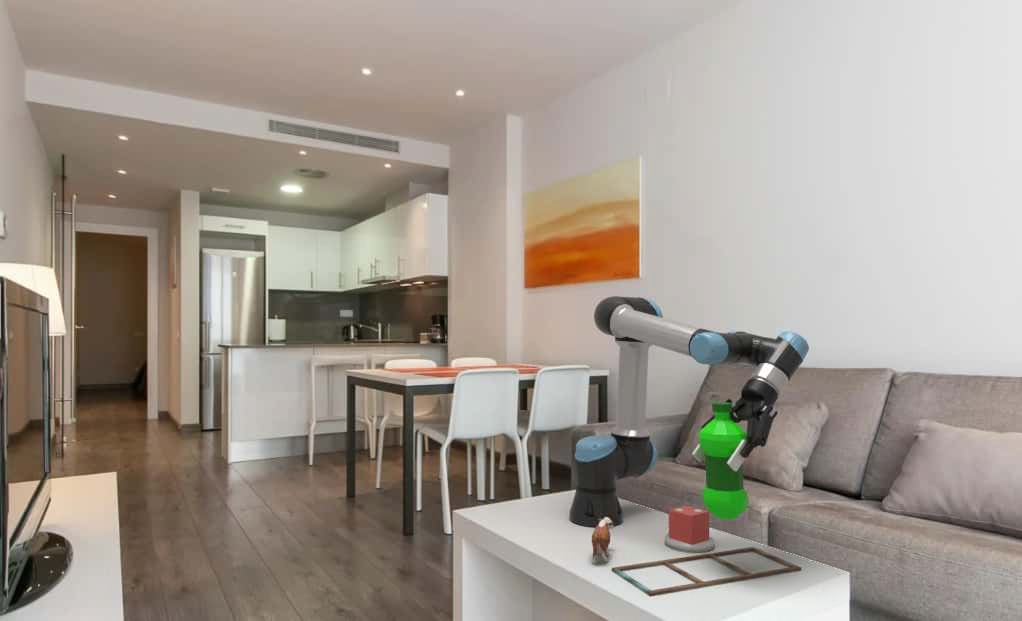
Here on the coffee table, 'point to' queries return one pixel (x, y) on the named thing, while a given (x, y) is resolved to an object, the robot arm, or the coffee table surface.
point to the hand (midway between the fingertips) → (713, 462)
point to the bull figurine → (601, 538)
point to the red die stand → (689, 530)
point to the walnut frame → (697, 581)
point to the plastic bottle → (722, 464)
